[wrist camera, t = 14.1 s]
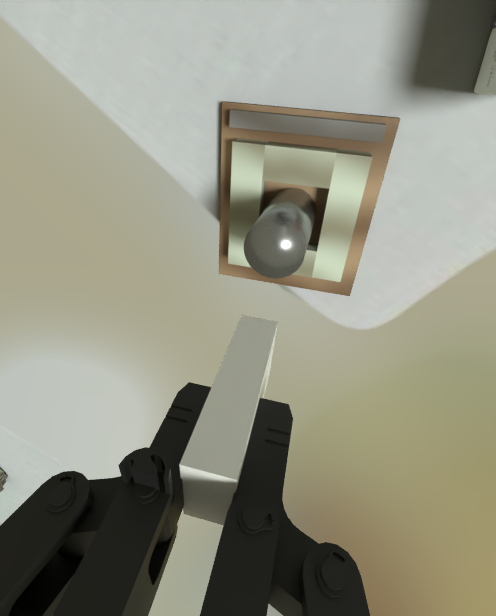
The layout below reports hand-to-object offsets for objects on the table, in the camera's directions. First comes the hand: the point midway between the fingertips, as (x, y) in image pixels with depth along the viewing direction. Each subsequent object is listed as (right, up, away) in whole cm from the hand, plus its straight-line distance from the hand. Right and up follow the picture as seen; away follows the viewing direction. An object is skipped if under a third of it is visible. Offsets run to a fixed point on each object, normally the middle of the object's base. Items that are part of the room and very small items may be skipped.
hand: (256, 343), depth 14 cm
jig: (+4, +11, +18) cm, 21 cm away
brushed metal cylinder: (+4, +10, +17) cm, 20 cm away
